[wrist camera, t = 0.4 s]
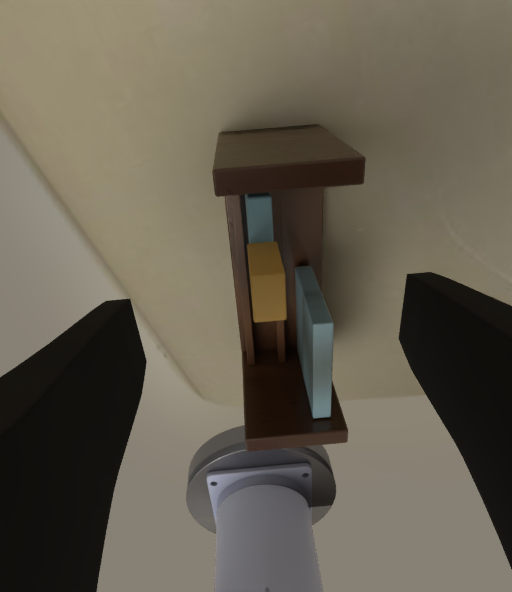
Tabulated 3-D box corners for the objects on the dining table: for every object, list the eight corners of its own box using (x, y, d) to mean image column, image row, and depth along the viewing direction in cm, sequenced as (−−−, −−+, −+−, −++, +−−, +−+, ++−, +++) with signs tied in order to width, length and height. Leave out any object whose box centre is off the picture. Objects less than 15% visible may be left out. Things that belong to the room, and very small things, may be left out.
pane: (269, 260, 19) (288, 359, 13) (248, 262, 19) (257, 362, 13) (263, 161, 17) (283, 221, 11) (239, 163, 17) (245, 225, 11)
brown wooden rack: (317, 345, 24) (347, 443, 18) (242, 352, 24) (246, 452, 17) (319, 123, 18) (366, 156, 11) (218, 132, 17) (212, 169, 11)
